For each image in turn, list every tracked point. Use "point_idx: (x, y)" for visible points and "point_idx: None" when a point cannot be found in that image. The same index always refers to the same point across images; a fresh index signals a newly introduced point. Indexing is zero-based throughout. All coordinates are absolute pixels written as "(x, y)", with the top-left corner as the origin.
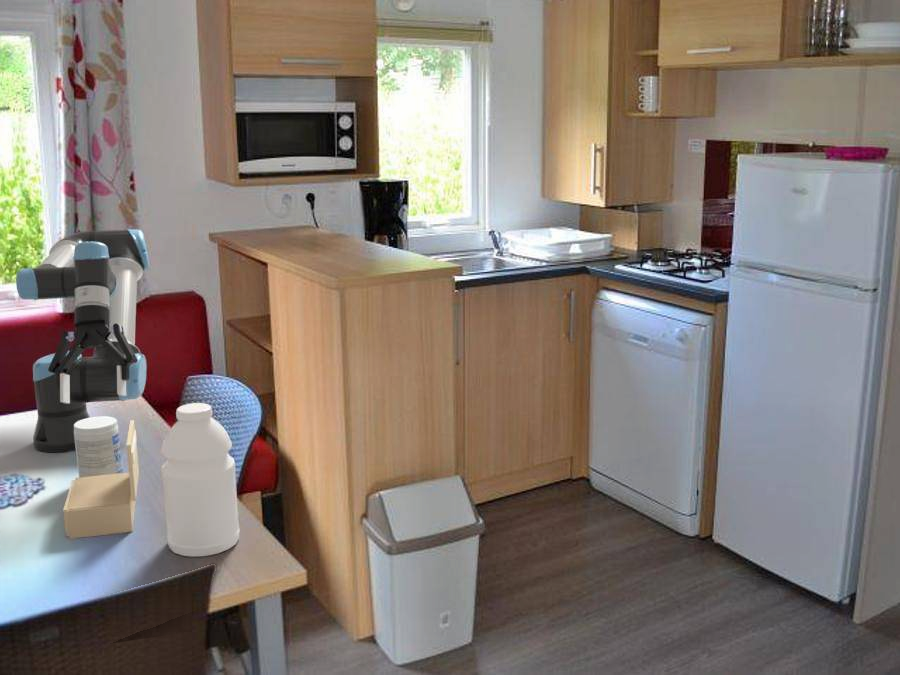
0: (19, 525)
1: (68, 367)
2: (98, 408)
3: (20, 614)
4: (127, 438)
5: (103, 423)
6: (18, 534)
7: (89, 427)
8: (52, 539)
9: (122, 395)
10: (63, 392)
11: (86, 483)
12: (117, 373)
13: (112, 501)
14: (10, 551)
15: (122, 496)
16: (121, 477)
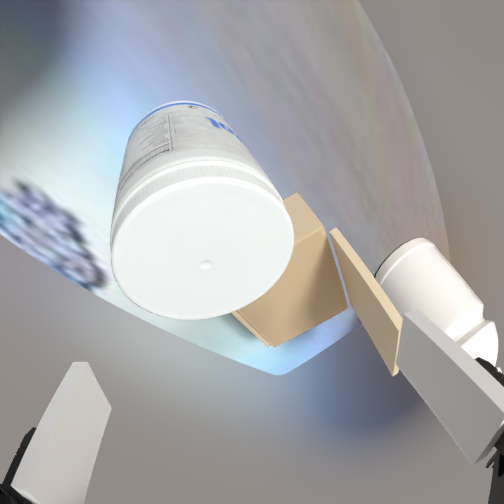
0: (166, 318)
1: None
2: None
3: (286, 372)
4: (394, 368)
5: (252, 263)
6: (187, 330)
7: (223, 306)
8: (240, 322)
9: (405, 328)
10: (99, 439)
11: None
12: (451, 432)
13: (325, 314)
14: (211, 348)
15: (334, 301)
16: (309, 256)
